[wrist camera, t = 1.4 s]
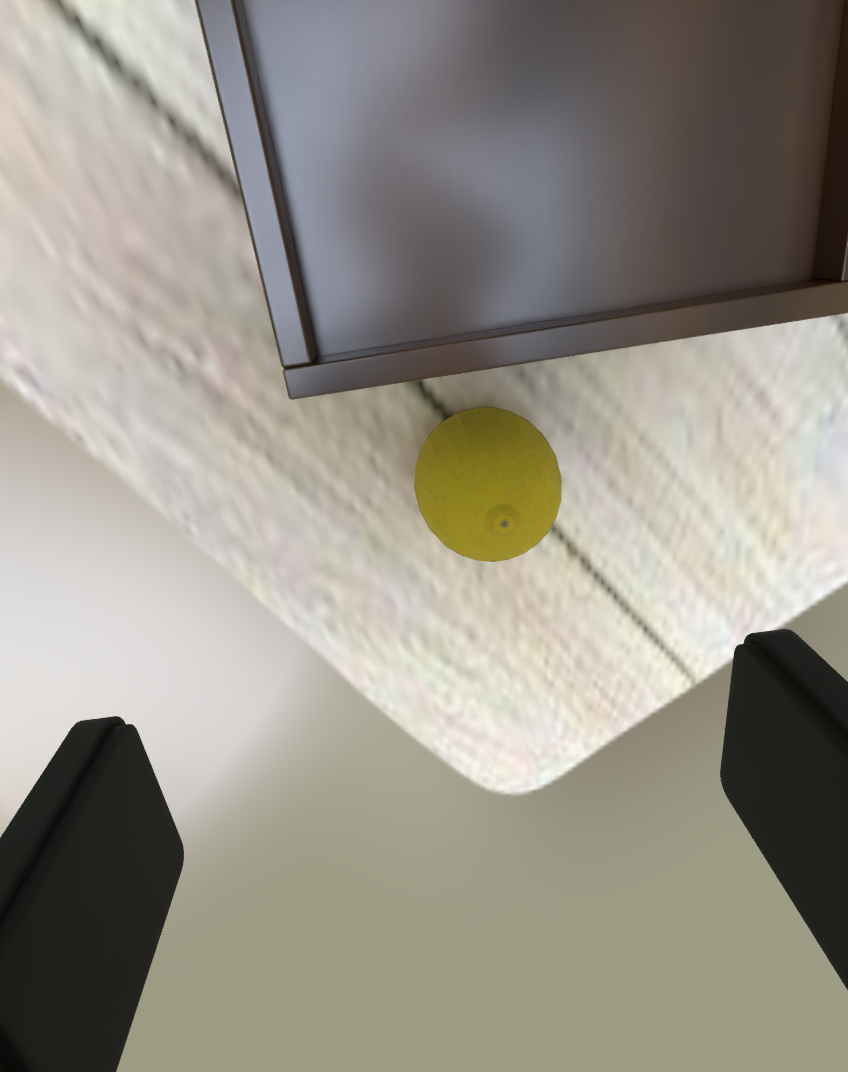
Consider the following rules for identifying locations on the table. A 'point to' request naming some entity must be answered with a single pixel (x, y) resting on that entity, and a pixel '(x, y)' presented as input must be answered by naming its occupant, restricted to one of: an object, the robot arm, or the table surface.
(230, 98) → the shelf
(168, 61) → the table surface
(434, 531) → the lemon
